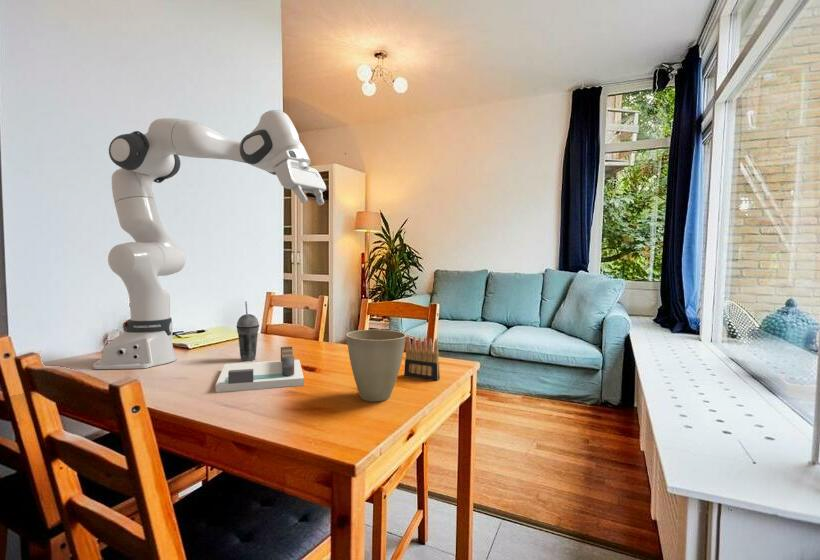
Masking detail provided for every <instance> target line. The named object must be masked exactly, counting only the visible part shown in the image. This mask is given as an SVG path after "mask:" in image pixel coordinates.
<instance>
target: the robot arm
mask: <svg viewBox="0 0 820 560" xmlns="http://www.w3.org/2000/svg"><path fill="white" fill-rule="evenodd" d="M258 121H259V122H258V123H257V124H256V125H257V126H255V128H254V129H252V131H251V132H250V133H248V134H246V135H245V136H244V137H242V139H241V141H238V140H234V139H232V138H230V137H227V136H225V135H224V134H221V133H220V132H218V131H216V130H214V129H212V128H210V127H208V126H206V125H204V124H201V123H199V122H197V121H193V120H189V119H182V118H175V117H172V118H171V117H169V118H168V117H167V118H157V119H154V120H153V121H152V122H151V123H150V124H149V127H148V130H147V132H146V133H143V132H141V131H139V130H136V131H132V132H130V133H124V134H120V135H117V136H115V138H113V139H112V140H111V142H110V144H109V147H108V155H109V158H110V160H111V161H112V162H113V163H114V164H115V165H116V166H118V167H119V169H116V170H115V171H114V172H113V173H112V175H111V189H112V190H111V191H112V197H113V203H114V206H115V210H116V215H117V218H118V222H119V225H120V227H121V229H122V230H123V231H124V232H125V233H126V234H128V235H129V236H130V237H132V239H133V240H134V241H129V242H124V243H120V244H119V243H118V244H116V245H114V246H113V247H112V248H111V249H110V250H109V252H108V256H107V263H108V266H109V268H110V269H111V271H112V272H113V273H114V274H116V275H117V276H118V277H119V278H120V279H121V280H122V282H123V283H124V286H125V288H126V290H127V294H128V297H129V298H128V300H129V310H130V312H129V313H130V318H129V319H127V320H126V321H125V322H123V323H122V327H121V328H123V332H121V333H120V334H119V335H118V336H116V337H114V338H113V339H112V340H111V341H109V342H108V343H107V344H106V345H105V346H104V348H103V351H102V354H101V359H98V360H96V362H94V363H93V365H92V368H93V370H120V369H121V370H123V369H124V370H125V369H128V370H129V369H133V370H134V369H135V370H136V369H147V368H151V367H155V366H161V365H164V364H168V363H172V362H174V361H176V360H177V355H176V354H175V349H174V346H173V340H172V333H173V319H172V317H171V295H170V294H169V292H168V291H167V290H165V289H163V287H162V286H161V283H160V281H159V277H164V276H165V277H167V276H170V275H174V274H177V273H179V272H181V271H182V270H183V268H184V267H185V264H186V254H185V252H184V251H183V250H182V249H181V248H180V247H178V246H177V244H175V243H174V241H173V240H172V239H171V237H170V235H168V233H167V231H166V230H165V228H164V227H163V224H162V222H161V220H160V216H159V212H158V209H157V206H156V201H155V197H154V193H153V190H152V184H153V182H154V183H156V184H161V183H163V182H164V181H165V180H168V179H170V178H173V177H174V176H175V175H177V173H178V172H179V170H180V168H181V159H180V156H182V157H185V158H187V157H188V158H196V159H214V160H215V159H216V160H226V161H227V160H228V161H234V162H238V163H239V162H240V163H245V164H248V165H250V166H252V167H256V168H258V169H260V170H262V171H264V172H266V173H269V174H271V175H275V176H276V177H277V179H278V181H279V183H280V185H281V186H282V187H283V188H284V189H286V190H287V189H288V190H292V191H293V193H294V194H295V195H296V196H297V198H298V199H299V201H300V203H301V204H306V203H307V202H309V199H308V196H307V195H306V194H305V193H309V194H314V196H315V198H316V199H315V202H316V204H317V205H318V206H322V205H324V204H325V201H324V198H323V197H324V196H323V193H324V192H325V191H326V190H327V185H326V183H325V181H324V179H323V178H322V176H321V173H320V172H319V171H318V170H317V169H316V168H313V166H312V165H310V164H311V159H310V157H309V155H308V153H307V151H306V148H305V147H304V145H303V143H301V141H300V138H299V137H300V136H299V135H300V134H299V133H298V130H297V129H296V127H295V125H294V123H293V121H292V120H291V118H290V116H289V115H288V114H287V113H286V112H284V111H281V110H277V109H275V110H274V109H272V110H268V111H266V112H264V113H262V114H261V116H260V118H259V120H258ZM304 192H305V193H304Z"/></svg>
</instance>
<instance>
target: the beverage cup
mask: <svg viewBox="0 0 820 560" xmlns="http://www.w3.org/2000/svg"><path fill="white" fill-rule="evenodd" d="M244 303H245V304H244V305H245V314H243V315H241V316H240V317H238V320H237V322H236V331H237V335H238V337H237V338H238V345H239V356H240V361H241V362H243V361H250V362H254V361H256V357H257V356H256V355H257V344H258V333H259V328H260V323H259V322H260V321H259V320H258V318H257V317H256V316H255V315H254V314H250V313H248V301H245V302H244ZM253 360H254V361H253Z"/></svg>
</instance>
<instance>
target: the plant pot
mask: <svg viewBox="0 0 820 560" xmlns="http://www.w3.org/2000/svg"><path fill="white" fill-rule="evenodd" d="M346 342H347V349H348V357H349V361H350V366H351V371H352V375H353V377H354V382H355V384H356V388H357V391H358V395H359V396H360V399H362V400H364V401H367V402H372V403H373V402H374V403H375V402H384V401H387V400H388V399H390V398H391V395H392V393H393V390H394V388H395V385H396V382H397V379H398V376H399V372H400V369H401V365H402V362H403V357H404V351H405V348H406V347H405V345H406V342H407V334H406V333H405V332H402V331H397V330H391V329H389V330H388V329H360V330H353V331H350V332H347V333H346Z"/></svg>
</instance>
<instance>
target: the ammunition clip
mask: <svg viewBox="0 0 820 560" xmlns="http://www.w3.org/2000/svg"><path fill="white" fill-rule="evenodd" d="M432 340H433V339H432V338H430V337H429V341H428V342H427V338H426V337H424V339H423V340H422V338H421V336H419V337H418V340H416V337H415V336H413V337H412V341H411V337H410V335H408V336H407V337H406V347H405V359H404V370H403V371H404V373H403V375H404V377H407V378H415V379H420V380H428V381H434V382H437V381H439V380H440V376H441V375H440V361H439V358H440V357H439V355H440V354H439V343H438V342H439V341H438V339H437V338H435V339H434V341H432ZM433 342H434V343H433Z"/></svg>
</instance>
